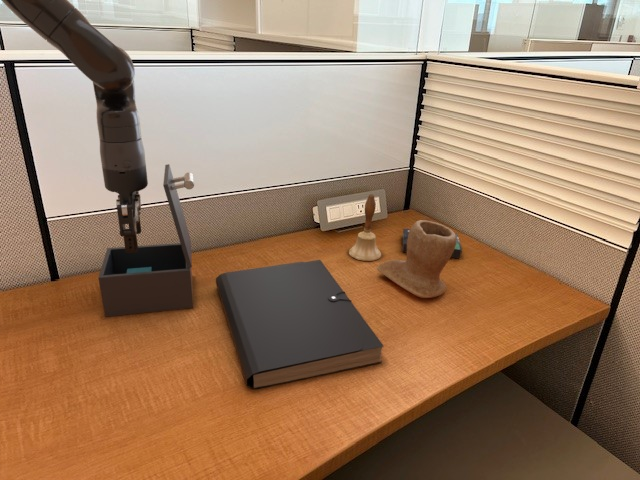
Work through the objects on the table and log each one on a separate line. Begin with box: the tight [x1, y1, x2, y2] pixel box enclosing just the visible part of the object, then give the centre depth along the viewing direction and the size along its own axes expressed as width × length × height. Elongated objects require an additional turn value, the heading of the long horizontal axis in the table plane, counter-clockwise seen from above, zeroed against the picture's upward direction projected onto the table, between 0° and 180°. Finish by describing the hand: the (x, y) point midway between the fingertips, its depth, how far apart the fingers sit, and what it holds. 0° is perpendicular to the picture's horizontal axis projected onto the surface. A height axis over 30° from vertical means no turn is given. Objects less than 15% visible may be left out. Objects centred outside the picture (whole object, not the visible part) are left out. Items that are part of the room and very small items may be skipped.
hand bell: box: [348, 194, 382, 262], centre depth 119 cm, size 8×8×16 cm
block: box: [127, 267, 152, 273], centre depth 99 cm, size 5×5×5 cm
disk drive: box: [402, 228, 463, 259], centre depth 127 cm, size 10×3×15 cm
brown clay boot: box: [376, 219, 457, 299], centre depth 106 cm, size 15×12×15 cm
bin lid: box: [162, 164, 195, 269], centre depth 95 cm, size 17×13×5 cm
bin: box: [97, 242, 194, 318], centre depth 99 cm, size 17×13×9 cm
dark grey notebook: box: [215, 259, 384, 390], centre depth 93 cm, size 33×4×24 cm
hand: (134, 242), depth 95 cm, fingers open, 8 cm apart
